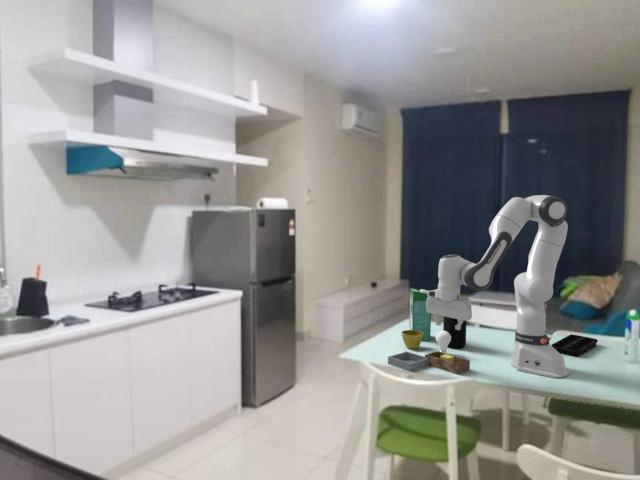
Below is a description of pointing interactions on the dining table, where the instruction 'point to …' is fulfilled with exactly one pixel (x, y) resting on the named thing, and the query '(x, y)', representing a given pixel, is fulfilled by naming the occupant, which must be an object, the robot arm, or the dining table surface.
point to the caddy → (448, 363)
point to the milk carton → (419, 313)
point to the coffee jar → (455, 333)
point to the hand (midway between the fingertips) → (447, 327)
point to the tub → (408, 361)
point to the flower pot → (412, 338)
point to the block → (447, 358)
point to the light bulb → (443, 340)
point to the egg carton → (574, 345)
